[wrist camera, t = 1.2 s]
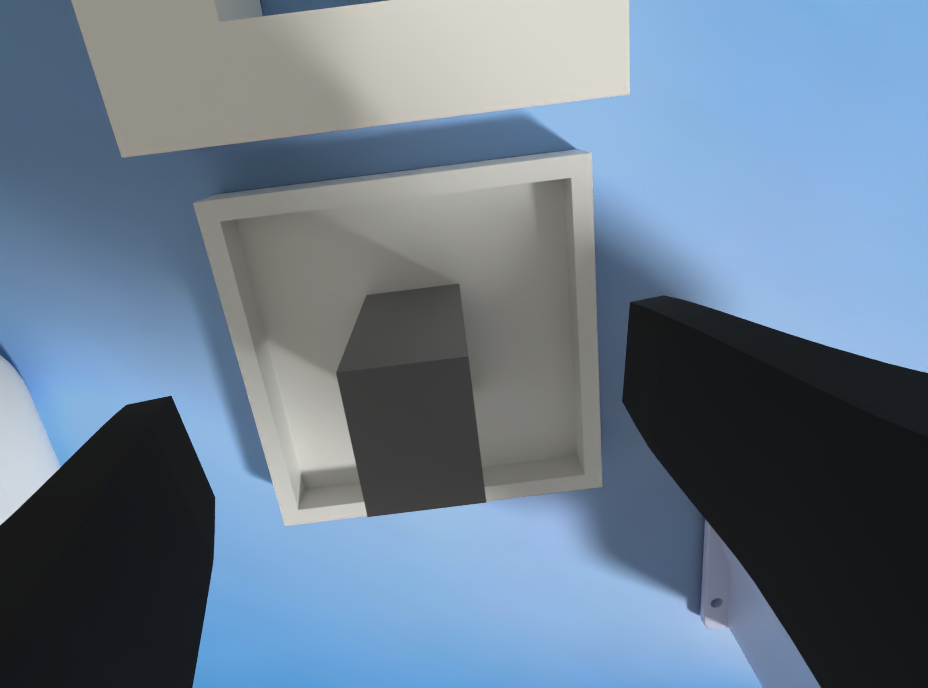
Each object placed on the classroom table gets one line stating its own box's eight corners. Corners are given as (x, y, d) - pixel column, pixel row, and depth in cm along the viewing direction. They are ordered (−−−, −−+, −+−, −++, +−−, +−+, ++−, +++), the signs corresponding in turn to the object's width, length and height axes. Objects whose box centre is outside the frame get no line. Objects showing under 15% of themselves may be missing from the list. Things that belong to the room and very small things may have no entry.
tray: (590, 458, 22) (602, 486, 20) (296, 494, 22) (285, 526, 20) (577, 149, 18) (591, 153, 16) (215, 194, 18) (192, 202, 16)
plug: (472, 394, 20) (486, 502, 15) (386, 405, 20) (367, 516, 15) (459, 283, 19) (468, 356, 13) (366, 295, 19) (335, 372, 13)
